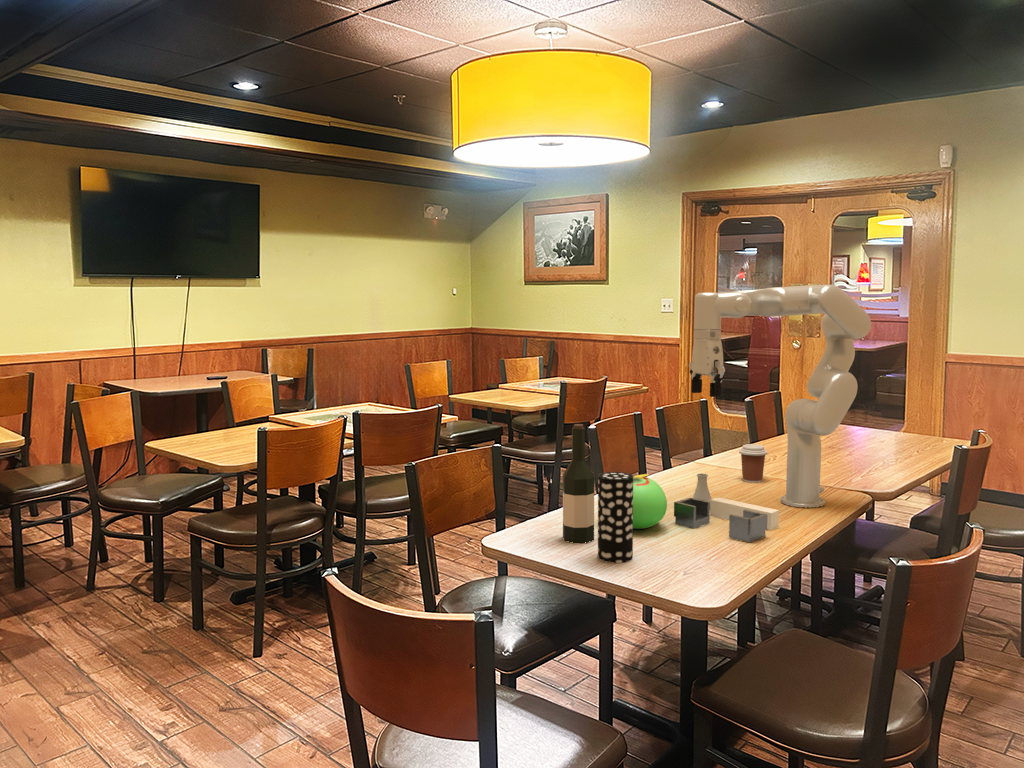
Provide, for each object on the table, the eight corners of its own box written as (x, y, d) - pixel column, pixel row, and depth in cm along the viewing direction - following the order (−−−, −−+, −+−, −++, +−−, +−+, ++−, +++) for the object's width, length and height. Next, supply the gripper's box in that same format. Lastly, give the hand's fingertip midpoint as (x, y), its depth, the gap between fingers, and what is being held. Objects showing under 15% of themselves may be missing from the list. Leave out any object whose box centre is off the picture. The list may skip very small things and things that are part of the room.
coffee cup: (739, 476, 269) (740, 442, 268) (767, 478, 266) (768, 444, 265) (737, 482, 261) (738, 447, 259) (765, 484, 257) (766, 449, 256)
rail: (718, 514, 224) (718, 497, 223) (778, 528, 210) (779, 510, 209) (710, 516, 221) (710, 499, 221) (770, 531, 207) (771, 513, 207)
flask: (714, 511, 226) (715, 477, 225) (689, 510, 228) (690, 476, 226) (713, 504, 233) (714, 472, 232) (689, 503, 235) (689, 471, 234)
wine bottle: (597, 535, 204) (598, 423, 200) (590, 545, 196) (590, 428, 192) (567, 532, 206) (566, 421, 203) (558, 542, 198) (558, 426, 195)
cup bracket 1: (689, 518, 219) (690, 497, 218) (709, 523, 214) (709, 501, 213) (673, 523, 214) (674, 502, 213) (693, 528, 209) (693, 506, 208)
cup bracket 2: (744, 531, 206) (745, 509, 205) (766, 537, 201) (767, 514, 200) (728, 537, 201) (729, 515, 200) (751, 543, 196) (751, 520, 195)
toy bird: (676, 534, 204) (676, 480, 202) (614, 538, 201) (614, 483, 200) (652, 516, 222) (653, 465, 220) (595, 519, 219) (595, 468, 217)
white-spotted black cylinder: (594, 552, 190) (595, 472, 188) (628, 551, 191) (628, 471, 189) (601, 563, 182) (601, 480, 180) (636, 562, 183) (637, 479, 181)
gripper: (736, 336, 215) (734, 397, 217) (702, 334, 232) (700, 391, 234) (712, 337, 213) (710, 398, 215) (680, 334, 229) (678, 391, 231)
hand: (705, 394), depth 224 cm, fingers open, 9 cm apart
